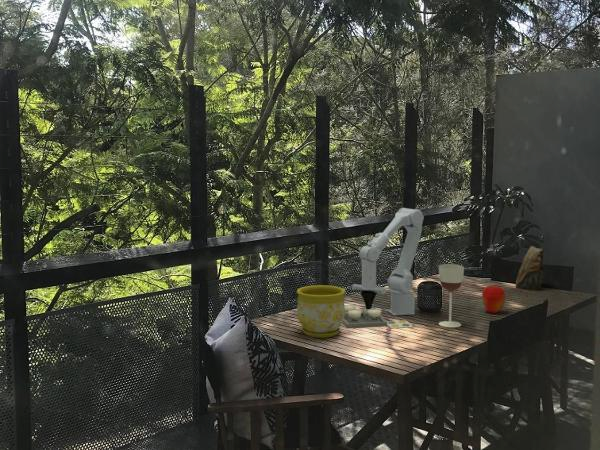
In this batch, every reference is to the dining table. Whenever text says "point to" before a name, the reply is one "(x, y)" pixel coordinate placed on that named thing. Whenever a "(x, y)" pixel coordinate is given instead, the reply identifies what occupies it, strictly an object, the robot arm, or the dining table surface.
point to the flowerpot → (321, 310)
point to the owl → (531, 270)
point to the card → (398, 324)
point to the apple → (493, 298)
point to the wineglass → (450, 285)
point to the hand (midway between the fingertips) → (368, 308)
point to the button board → (363, 321)
